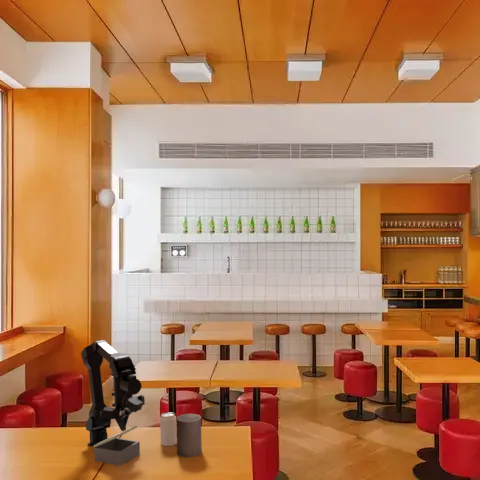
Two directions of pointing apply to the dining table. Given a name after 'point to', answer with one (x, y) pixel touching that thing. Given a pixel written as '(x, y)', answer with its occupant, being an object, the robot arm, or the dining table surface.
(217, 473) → the dining table surface
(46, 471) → the dining table surface
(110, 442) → the storage box
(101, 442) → the lid
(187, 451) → the pillar candle
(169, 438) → the can
